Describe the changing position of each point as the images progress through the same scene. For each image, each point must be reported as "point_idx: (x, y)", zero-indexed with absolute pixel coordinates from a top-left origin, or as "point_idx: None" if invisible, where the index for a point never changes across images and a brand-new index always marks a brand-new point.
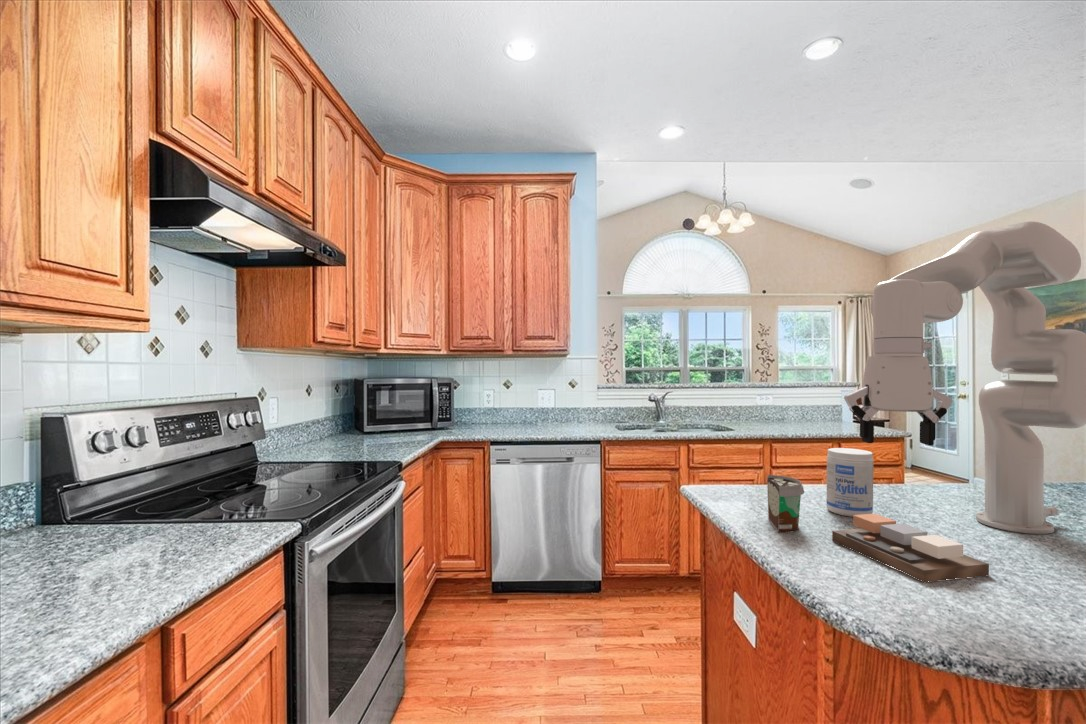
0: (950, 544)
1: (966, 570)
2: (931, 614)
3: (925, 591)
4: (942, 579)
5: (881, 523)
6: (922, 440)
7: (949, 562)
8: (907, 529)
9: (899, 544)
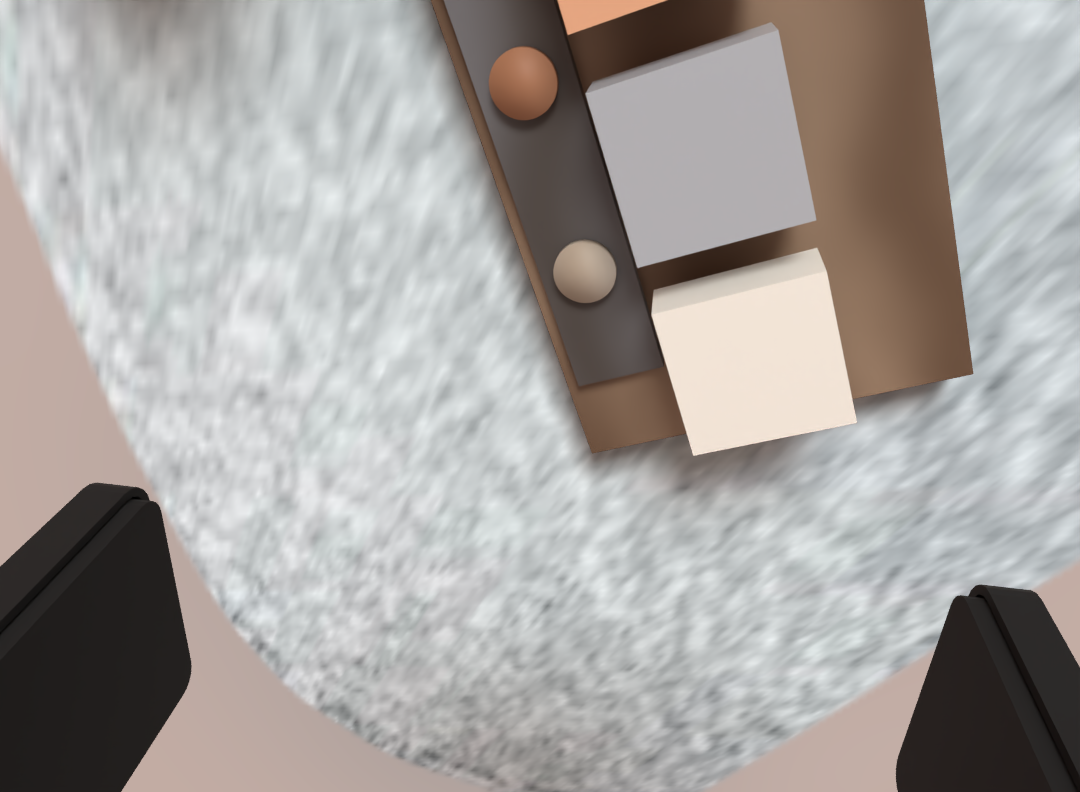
0: (784, 425)
1: None
2: (475, 626)
3: (554, 492)
4: None
5: (633, 10)
6: (946, 683)
7: None
8: (718, 175)
9: None
